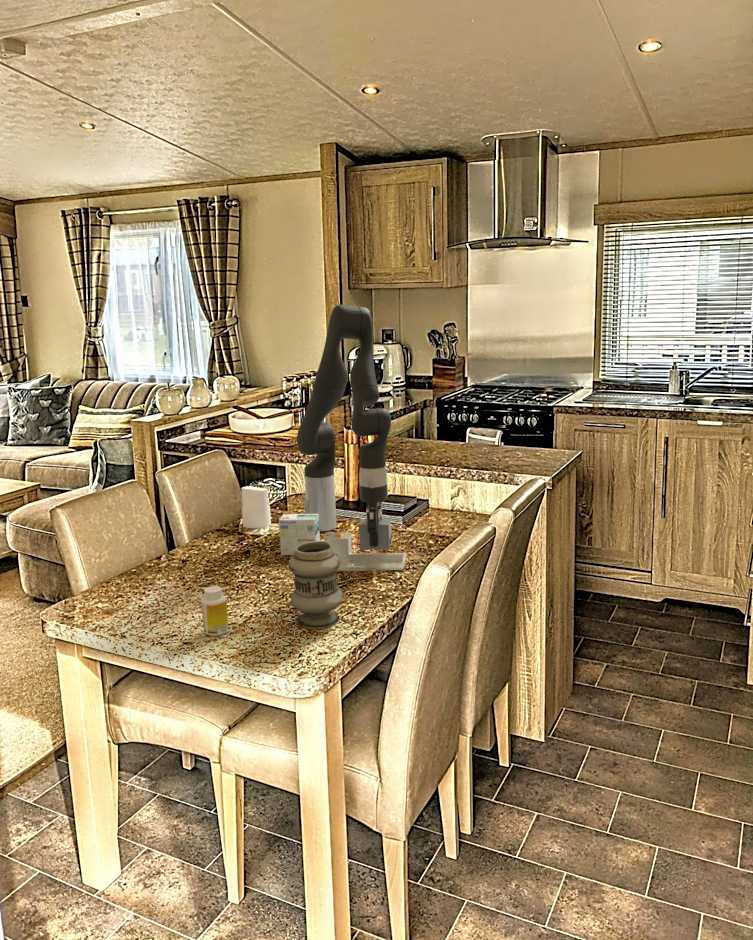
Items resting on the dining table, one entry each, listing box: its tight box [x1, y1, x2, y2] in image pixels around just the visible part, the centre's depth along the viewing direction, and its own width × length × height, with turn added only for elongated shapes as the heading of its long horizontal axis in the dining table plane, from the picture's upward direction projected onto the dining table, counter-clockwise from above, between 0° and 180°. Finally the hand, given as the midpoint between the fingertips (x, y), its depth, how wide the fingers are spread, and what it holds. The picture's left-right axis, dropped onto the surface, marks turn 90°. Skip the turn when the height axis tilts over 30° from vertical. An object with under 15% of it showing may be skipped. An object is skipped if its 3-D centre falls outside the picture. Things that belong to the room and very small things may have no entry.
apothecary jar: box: [288, 540, 344, 630], centre depth 194 cm, size 12×12×18 cm
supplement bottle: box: [200, 585, 230, 637], centre depth 191 cm, size 6×6×10 cm
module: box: [358, 518, 392, 551], centre depth 232 cm, size 8×6×7 cm
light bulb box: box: [278, 513, 321, 556], centre depth 245 cm, size 11×7×11 cm, turn 84°
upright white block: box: [241, 485, 272, 529], centre depth 274 cm, size 9×9×12 cm
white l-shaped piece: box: [325, 531, 407, 572], centre depth 233 cm, size 22×12×9 cm, turn 84°
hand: (375, 542), depth 232 cm, fingers closed on module, 6 cm apart
